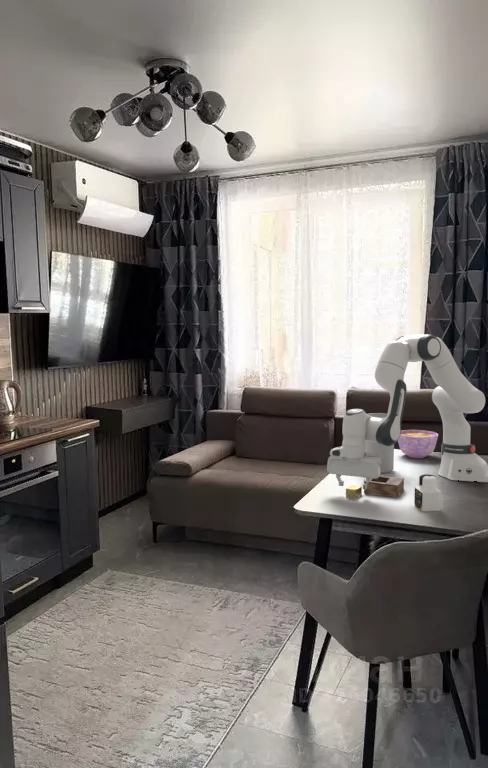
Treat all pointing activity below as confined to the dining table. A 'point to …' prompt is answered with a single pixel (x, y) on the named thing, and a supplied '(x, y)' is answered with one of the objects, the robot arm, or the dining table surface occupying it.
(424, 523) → the dining table surface
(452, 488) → the dining table surface
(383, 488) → the brown wooden frame
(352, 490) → the brushed brass pillar
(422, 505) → the medicine bottle
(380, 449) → the cylinder vase
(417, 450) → the bowl of food
